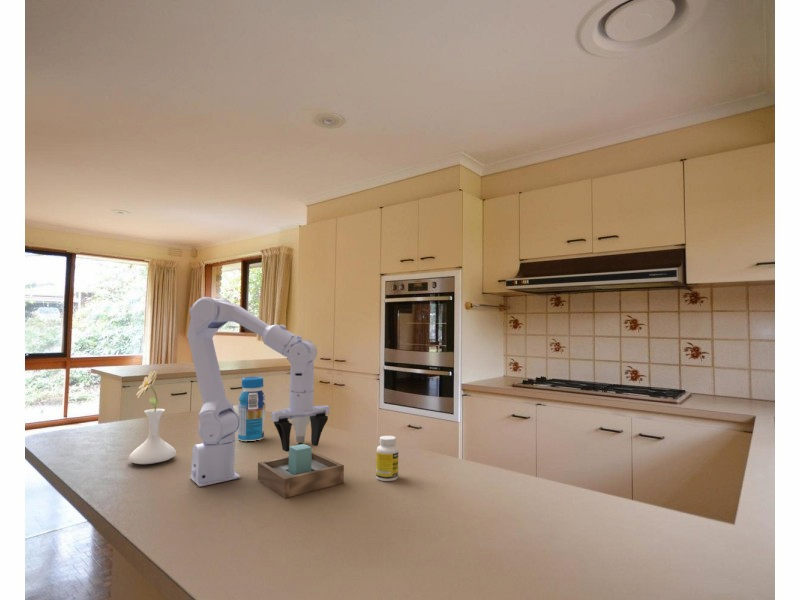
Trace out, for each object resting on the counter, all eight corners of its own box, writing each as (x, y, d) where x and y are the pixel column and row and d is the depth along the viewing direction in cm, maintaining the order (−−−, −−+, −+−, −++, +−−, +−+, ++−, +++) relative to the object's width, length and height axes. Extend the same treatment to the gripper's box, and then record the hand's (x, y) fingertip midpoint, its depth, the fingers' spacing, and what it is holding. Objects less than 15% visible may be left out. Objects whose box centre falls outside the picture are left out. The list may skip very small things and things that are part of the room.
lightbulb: (312, 441, 141) (313, 406, 142) (306, 446, 135) (307, 410, 135) (294, 440, 141) (294, 406, 142) (287, 446, 135) (288, 410, 136)
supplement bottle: (395, 482, 104) (395, 440, 105) (373, 481, 105) (373, 439, 106) (400, 475, 109) (400, 435, 110) (379, 473, 110) (379, 434, 111)
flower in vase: (133, 457, 123) (136, 368, 124) (178, 453, 127) (181, 367, 128) (122, 472, 111) (126, 372, 112) (172, 467, 115) (175, 371, 116)
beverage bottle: (231, 441, 140) (233, 378, 142) (248, 435, 149) (249, 376, 150) (254, 443, 138) (255, 379, 139) (269, 437, 146) (271, 376, 147)
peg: (295, 485, 102) (296, 450, 103) (288, 480, 105) (288, 446, 106) (311, 481, 105) (311, 447, 105) (303, 476, 108) (304, 443, 108)
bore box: (284, 498, 94) (284, 479, 95) (257, 479, 106) (257, 462, 106) (343, 482, 104) (343, 465, 104) (313, 466, 115) (313, 451, 116)
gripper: (280, 395, 98) (279, 457, 98) (336, 390, 108) (335, 446, 107) (268, 391, 104) (266, 450, 103) (321, 386, 113) (320, 440, 112)
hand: (300, 447), depth 105 cm, fingers open, 7 cm apart
